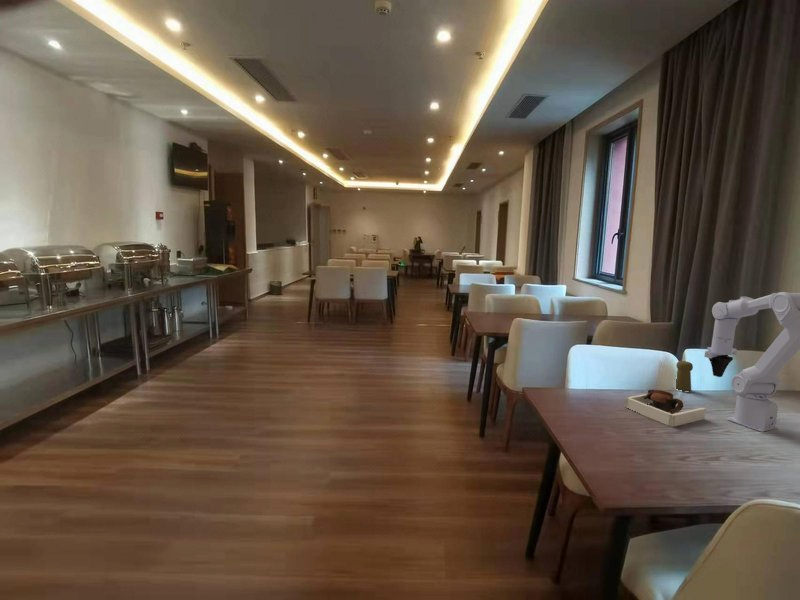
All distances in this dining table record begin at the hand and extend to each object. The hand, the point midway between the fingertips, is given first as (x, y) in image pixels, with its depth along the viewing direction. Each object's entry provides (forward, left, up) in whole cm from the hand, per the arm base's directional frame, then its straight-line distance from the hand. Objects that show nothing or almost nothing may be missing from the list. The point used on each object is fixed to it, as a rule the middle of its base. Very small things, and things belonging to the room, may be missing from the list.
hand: (717, 376), depth 143 cm
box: (+2, +24, -10) cm, 26 cm away
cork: (+15, -6, -11) cm, 19 cm away
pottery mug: (+2, +24, -11) cm, 26 cm away
